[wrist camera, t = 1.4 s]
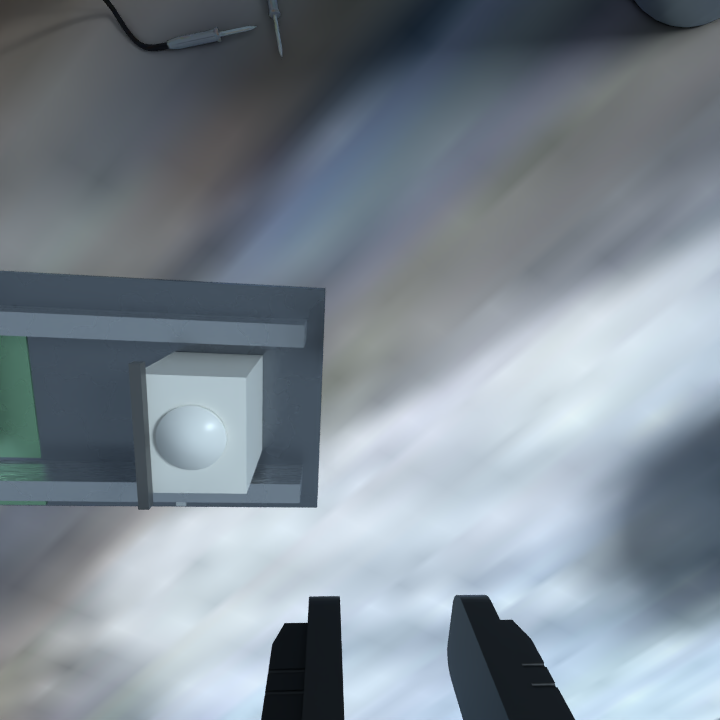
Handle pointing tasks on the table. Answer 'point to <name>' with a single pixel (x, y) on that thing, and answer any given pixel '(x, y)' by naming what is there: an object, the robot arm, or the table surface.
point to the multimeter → (201, 36)
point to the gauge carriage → (196, 423)
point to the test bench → (149, 344)
